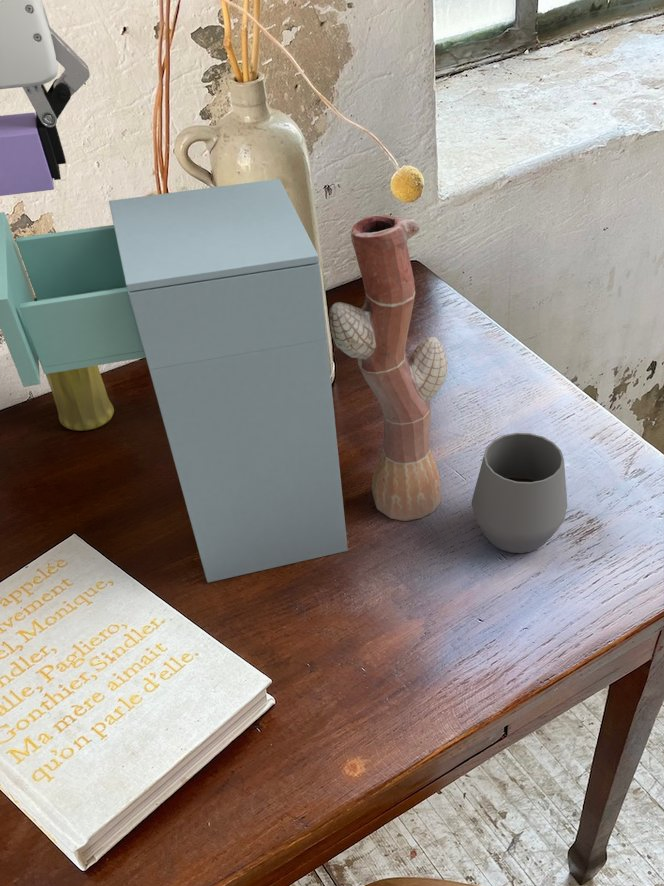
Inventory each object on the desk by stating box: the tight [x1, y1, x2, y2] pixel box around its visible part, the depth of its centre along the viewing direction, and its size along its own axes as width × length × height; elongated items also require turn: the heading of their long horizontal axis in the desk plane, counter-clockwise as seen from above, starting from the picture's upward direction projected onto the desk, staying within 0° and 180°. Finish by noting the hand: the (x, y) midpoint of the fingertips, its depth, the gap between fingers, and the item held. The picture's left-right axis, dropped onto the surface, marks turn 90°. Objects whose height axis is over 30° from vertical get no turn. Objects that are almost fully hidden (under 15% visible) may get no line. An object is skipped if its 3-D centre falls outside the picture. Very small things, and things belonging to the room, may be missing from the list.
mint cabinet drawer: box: [0, 211, 146, 388], centre depth 70 cm, size 19×14×7 cm
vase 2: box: [328, 214, 448, 522], centre depth 85 cm, size 10×7×30 cm
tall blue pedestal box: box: [108, 178, 349, 584], centre depth 82 cm, size 14×14×31 cm
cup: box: [471, 432, 568, 554], centre depth 89 cm, size 10×9×10 cm
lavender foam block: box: [0, 112, 55, 197], centre depth 72 cm, size 4×4×4 cm
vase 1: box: [34, 294, 115, 432], centre depth 99 cm, size 6×6×14 cm
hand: (22, 174), depth 74 cm, fingers closed on lavender foam block, 4 cm apart
